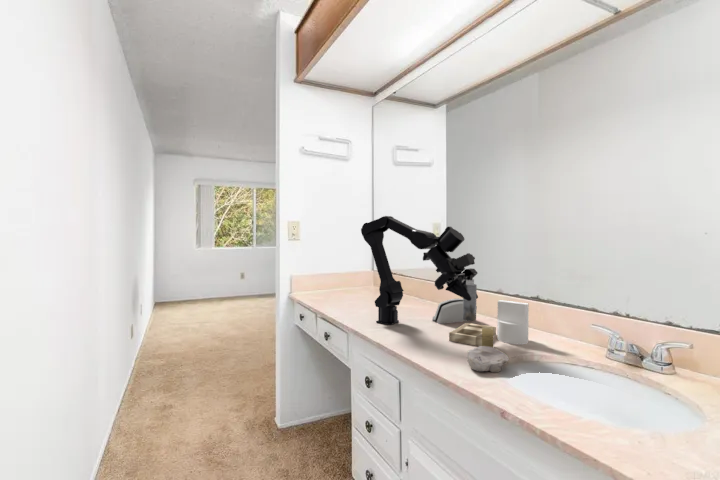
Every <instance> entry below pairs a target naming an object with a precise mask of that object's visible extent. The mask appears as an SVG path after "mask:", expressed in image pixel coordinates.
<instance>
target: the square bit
mask: <svg viewBox="0 0 720 480" xmlns="http://www.w3.org/2000/svg"><path fill="white" fill-rule="evenodd" d="M488 326H489V325H486V326H482V346H489V347H493V348H494V336H493V327H494V326H493V327H488Z"/></svg>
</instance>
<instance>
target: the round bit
mask: <svg viewBox="0 0 720 480" xmlns="http://www.w3.org/2000/svg"><path fill="white" fill-rule="evenodd" d="M463 286H464V287H465V289H466V290H467V292H468V293H469V295H470V297H471V298H472V299H471V300H470V301H468V300H466V299H464V298H462V299H463V320H466V321H465V322H475V321H477V310H476V306H477V299H476V294H477V295H478V292H477V290H478V289H477V287H478V286H477V284H476V283H475V279H472V280H471V279H466V284H463Z"/></svg>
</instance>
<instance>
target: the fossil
mask: <svg viewBox="0 0 720 480" xmlns="http://www.w3.org/2000/svg"><path fill="white" fill-rule="evenodd" d="M466 361H467V363H468V366H469V368H470V369H472V370H473V371H476V372H488V371H490V372H491V373H498V372H501V370H502V367H503V365H505V364H509V361H510V358H509V357H508V355H507V354H506V353H505V352H502V351H501V350H499V349H497V348H495V347H494V346H493V347H489V346H477V347H474V348H472V349H469V350H467V352H466Z"/></svg>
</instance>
